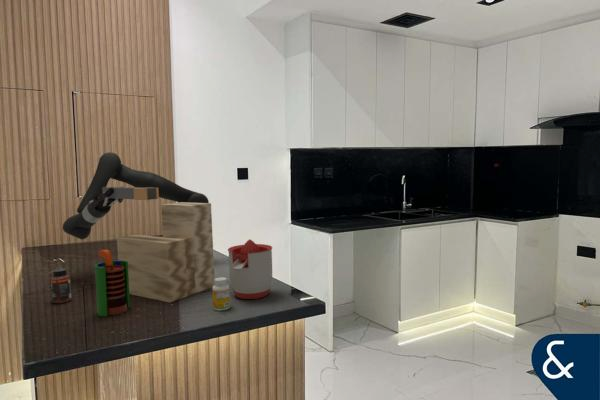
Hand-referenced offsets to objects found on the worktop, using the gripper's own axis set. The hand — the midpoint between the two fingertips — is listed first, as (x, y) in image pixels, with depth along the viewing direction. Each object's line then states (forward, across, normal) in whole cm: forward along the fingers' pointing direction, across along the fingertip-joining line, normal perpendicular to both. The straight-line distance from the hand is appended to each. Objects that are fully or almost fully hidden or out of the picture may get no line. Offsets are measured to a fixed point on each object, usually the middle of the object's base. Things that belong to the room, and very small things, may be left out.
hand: (118, 189), depth 168 cm
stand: (-5, +7, +42) cm, 42 cm away
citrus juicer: (+24, +15, +58) cm, 65 cm away
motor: (-2, -19, +44) cm, 47 cm away
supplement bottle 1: (-24, -21, +31) cm, 44 cm away
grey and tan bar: (+4, 0, +6) cm, 7 cm away
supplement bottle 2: (+24, 0, +58) cm, 63 cm away
